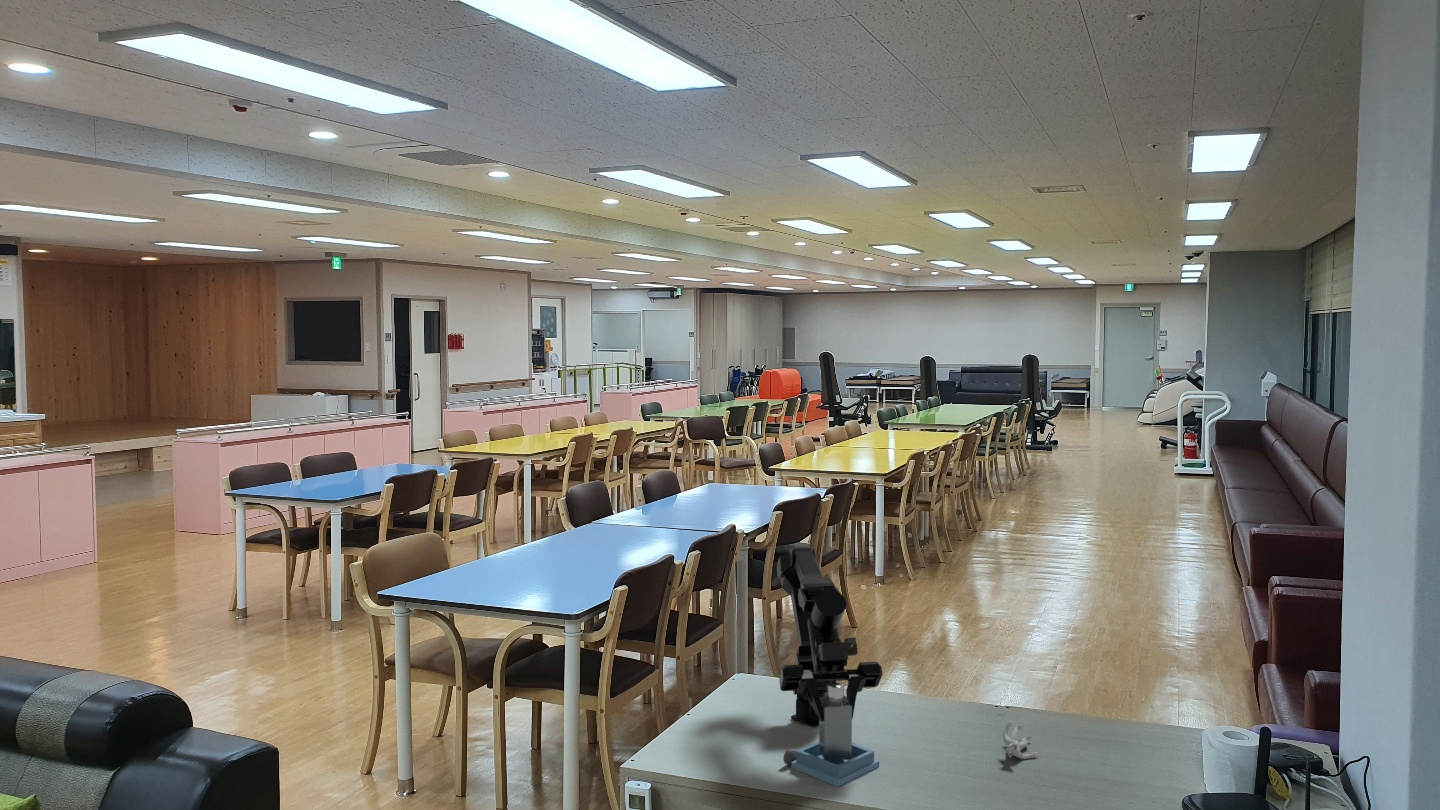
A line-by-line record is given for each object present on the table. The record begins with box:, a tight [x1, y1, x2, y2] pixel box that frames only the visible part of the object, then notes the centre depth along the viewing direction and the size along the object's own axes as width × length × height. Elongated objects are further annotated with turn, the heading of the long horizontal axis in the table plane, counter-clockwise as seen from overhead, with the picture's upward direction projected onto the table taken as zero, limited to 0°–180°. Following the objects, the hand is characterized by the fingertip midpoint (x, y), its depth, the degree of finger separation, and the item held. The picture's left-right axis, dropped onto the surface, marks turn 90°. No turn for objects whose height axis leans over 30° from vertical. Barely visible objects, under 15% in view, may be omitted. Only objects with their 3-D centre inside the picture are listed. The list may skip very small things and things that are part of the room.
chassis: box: [782, 740, 880, 787], centre depth 192 cm, size 13×12×3 cm
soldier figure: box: [1001, 720, 1039, 760], centre depth 198 cm, size 8×5×12 cm
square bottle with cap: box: [818, 682, 853, 761], centre depth 191 cm, size 5×5×13 cm
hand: (836, 720), depth 190 cm, fingers closed on square bottle with cap, 5 cm apart
